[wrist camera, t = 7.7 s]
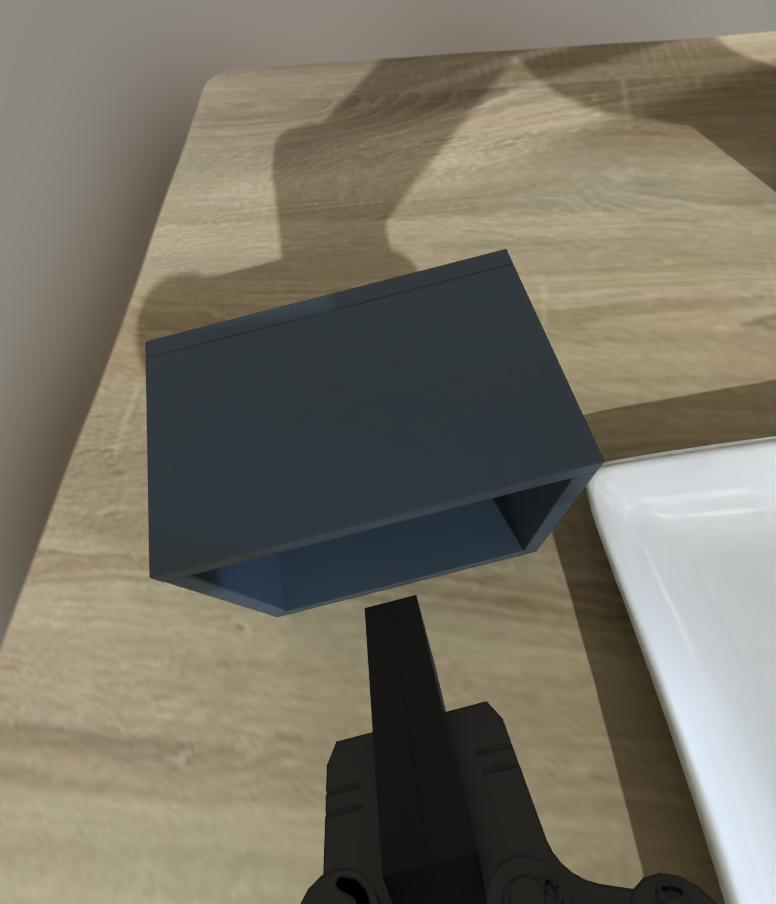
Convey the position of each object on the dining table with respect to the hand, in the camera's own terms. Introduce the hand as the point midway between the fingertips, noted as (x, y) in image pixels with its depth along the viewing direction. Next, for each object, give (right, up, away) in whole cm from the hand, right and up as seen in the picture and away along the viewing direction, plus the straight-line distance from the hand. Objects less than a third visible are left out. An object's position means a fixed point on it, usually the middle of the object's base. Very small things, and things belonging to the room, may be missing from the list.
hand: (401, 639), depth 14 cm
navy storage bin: (0, +2, +13) cm, 13 cm away
